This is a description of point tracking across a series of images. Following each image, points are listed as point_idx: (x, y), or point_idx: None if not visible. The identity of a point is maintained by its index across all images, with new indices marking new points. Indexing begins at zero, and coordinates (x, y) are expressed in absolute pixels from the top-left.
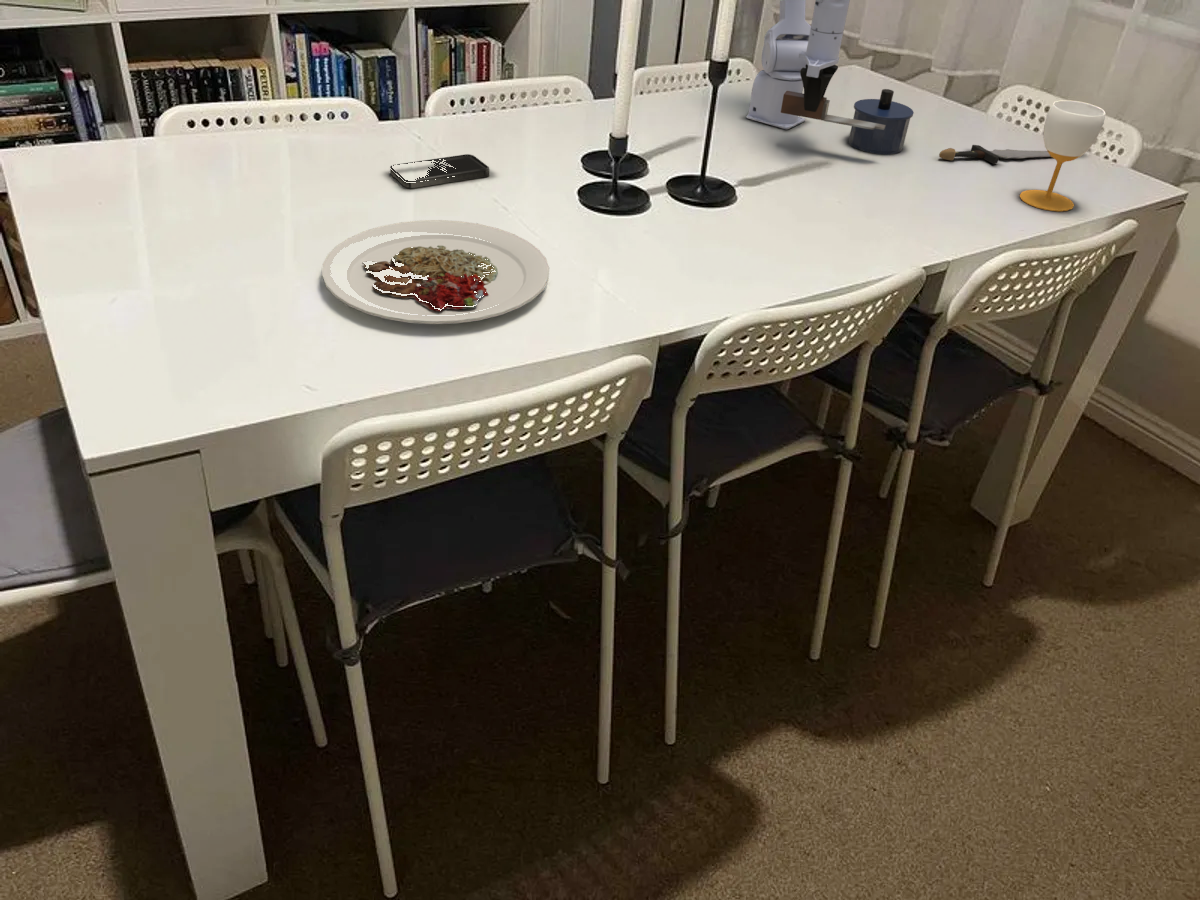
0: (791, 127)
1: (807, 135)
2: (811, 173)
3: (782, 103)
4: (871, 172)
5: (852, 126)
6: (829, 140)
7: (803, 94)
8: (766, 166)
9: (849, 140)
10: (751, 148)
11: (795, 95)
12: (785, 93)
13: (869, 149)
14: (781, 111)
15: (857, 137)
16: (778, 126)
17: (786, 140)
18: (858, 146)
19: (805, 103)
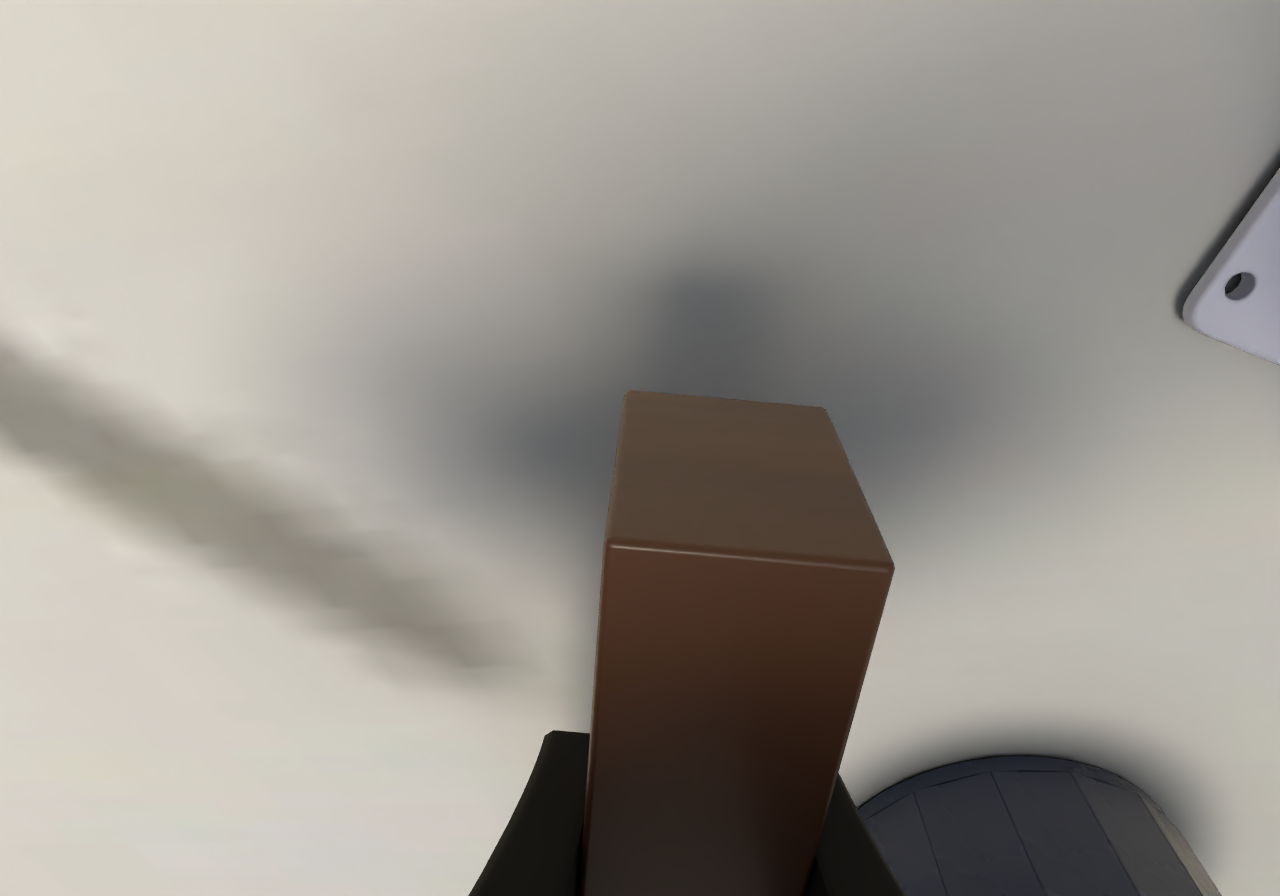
0: (1249, 352)
1: (1075, 496)
2: (206, 592)
3: (620, 456)
4: (469, 867)
5: (1015, 871)
6: (995, 649)
7: (767, 821)
8: (95, 268)
9: (975, 775)
10: (473, 40)
11: (626, 727)
12: (660, 567)
13: None
14: (623, 407)
15: (899, 858)
16: (1243, 225)
17: (872, 345)
18: (864, 821)
19: (518, 808)
